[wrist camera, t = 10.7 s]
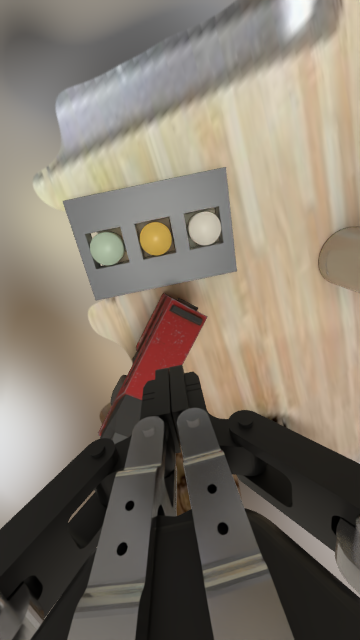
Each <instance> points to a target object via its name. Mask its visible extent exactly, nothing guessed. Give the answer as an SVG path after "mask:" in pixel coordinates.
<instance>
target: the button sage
mask: <svg viewBox="0 0 360 640" xmlns="http://www.w3.org/2000/svg"><path fill="white" fill-rule="evenodd" d="M90 251H91V254H92V256H93V258H94V259H95V260H96V261H97V262H98V263H100V264H102V265H113V264H115V263H117V262H118V261H119V260H120V259H121V258H122V257H123V256H124V254H125V251H126V247H125V243H124V240H123V238H122V237H121V236H120V235H118V234H117V233H115V232H104V233H100V234H97V235H96V236H95V237H94V238H93V239H92V241H91V243H90Z"/></svg>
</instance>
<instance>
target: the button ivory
mask: <svg viewBox="0 0 360 640" xmlns="http://www.w3.org/2000/svg"><path fill="white" fill-rule="evenodd" d="M187 232H188V235H189V237H190V238H191V239H192V240H193V241H194V242H196V243H198V244H200V245H210V244H212V243H214V242H215V241H216V240H217V239H218V237H219V235H220V232H221V223H220V221H219V219H218V217H217V216H216V215H215V214H213V213H211V212H200V213H197V214H195V215H193V216H192V217H191V218H190V220H189V222H188V225H187Z"/></svg>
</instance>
